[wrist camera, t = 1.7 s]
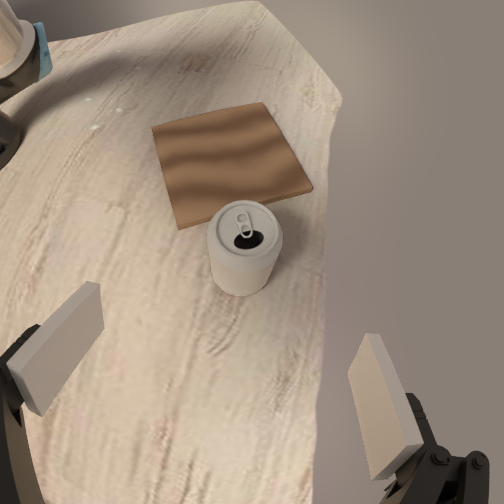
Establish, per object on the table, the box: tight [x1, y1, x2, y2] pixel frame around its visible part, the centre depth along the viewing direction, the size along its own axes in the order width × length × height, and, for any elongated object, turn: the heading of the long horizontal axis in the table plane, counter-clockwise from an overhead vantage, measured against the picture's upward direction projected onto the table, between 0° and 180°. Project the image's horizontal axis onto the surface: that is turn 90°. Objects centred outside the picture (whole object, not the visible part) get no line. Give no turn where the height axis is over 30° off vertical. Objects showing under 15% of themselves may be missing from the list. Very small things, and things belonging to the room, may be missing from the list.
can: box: [206, 200, 283, 296], centre depth 33 cm, size 8×8×12 cm
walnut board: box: [151, 102, 313, 230], centre depth 45 cm, size 20×20×1 cm
